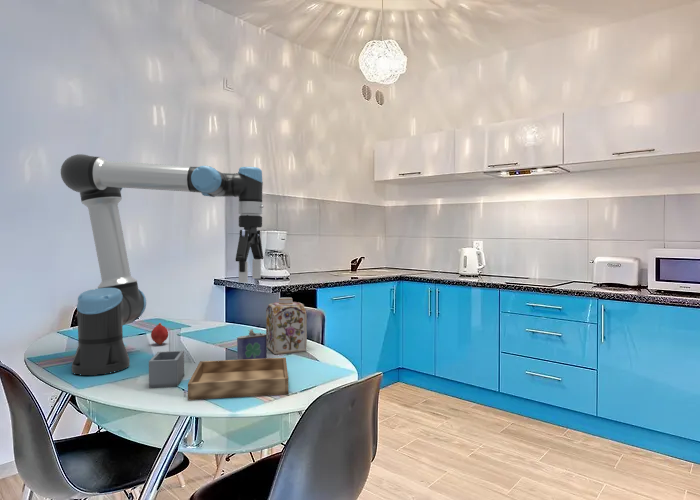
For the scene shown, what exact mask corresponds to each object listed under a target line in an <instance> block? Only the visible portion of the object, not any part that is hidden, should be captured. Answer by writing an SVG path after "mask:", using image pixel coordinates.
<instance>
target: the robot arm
mask: <svg viewBox="0 0 700 500" xmlns="http://www.w3.org/2000/svg"><path fill="white" fill-rule="evenodd" d="M60 177H61V180H62V182H63V183H64V185H65V186H66V187H68V189H70V190H71V191H74V192H77V193H79V196H80V201H81V204H82V205H84V206H85V207H87V208H88V209H87V211H88V214H89V219H90V220H89V221H90V224H91V225H90V226H91V230H92V235H93V241H94V245H95V252H96V257H97V263H98V266H99V273H100V278H101V282H100V284H98V286H97V288H95V289H88V290H85V291H82V292H81V293H80V294H79V295H78V297H77V303H76V310H77V338H78V339H77V341H78V343H77V348H76V351H75V354H74V358H73V359H72V363H71V373H72V372H73V373H75V374H81V375H94V376H98V375H97V374H104V375H106V374H105V373H110V372H114V371H118V370H121V371H123V370H122V369H124V368H126V369H128V368H129V367H130V366H131V365H130V364H131V363H130V356H129V354H128V351H127V348H126V346H125V344H124V339H123V336H124V335H123V326H125V325H128V324H131V323H133V322H135V321H137V320H138V319H140V318H141V316H142V315H143V314H144V313H145V310H146V307H147V298H146V296H145V294H144V292H143V291H142V290H140V288H139V285H138V280H137V279H136V278H134V277H133V276H131V275H132V274H131V269H130V268H131V267H130V264H129V259H128V253H127V248H126V243H125V237H124V232H123V227H122V226H123V225H122V221H121V215H120V212H119V211H120V209H119V203H120V202H121V201H122V189H123V188H124V189H138V190H155V191H173V192H190V193H191V192H192V193H198V194H201V195H202V196H203V197H210V198H211V197H212V198H215V197H220V198H221V197H222V198H223V197H225V198H226V197H229V198H230V197H231V198H233V197H235V198H236V197H238V214H239V216H238V227H239V228H243V229H240V230H239V238H238V244H237V248H236V249H237V250H236V255H235V262H238V283H244V284H246V283H248V282H249V279H248V277H249V275H248V273H249V269H248V268H249V262H248V261H247V260H248V257H249V254H250V249H251V253H252V257H253V259H252V264H251V265H252V267H251V268H252V272H251V273H252V279H257V280H258V279H260V280H261V279H262V276H261V275H262V260H264V253H263V246H262V245H263V244H262V239H261V230H259V229H257V228H262V227H263V217H262V214H263V208H264V207H265V206H264V205H263V185H264V182H263V171H262V169H261V168H259V167H255V166H241V167H239V168H238V172H237V173H227V172H226V173H225V172H221V171H219V170H217V169H216V168H214V167H213V166H208V165H200V166H191V165H173V164H158V163H147V162H146V163H143V162H131V161H130V162H127V161H112V160H107V159H106V158H105V157H103V156H93V155H88V154H83V153H82V154H80V153H79V154H73V155H71V156H69V157H68V158H66V159H65V160H64V162H63V163H62V164H61V167H60ZM128 366H129V367H128ZM127 367H128V368H127ZM124 370H125V369H124ZM118 372H119V371H118ZM73 373H72V374H73ZM114 373H115V372H114ZM75 374H74V375H75ZM110 374H111V373H110ZM81 375H80V376H81Z"/></svg>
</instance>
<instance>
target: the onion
mask: <svg viewBox="0 0 700 500" xmlns="http://www.w3.org/2000/svg"><path fill="white" fill-rule="evenodd" d="M150 338H151V340H152V341H153V342H154V343H155V344H157V345H159V346H160V345H162V344H163V343H164V342H166V340H168V338H169V331H168V329H167V327H166V326H164V325H163V324H162V322H158V324H157V325H155V327H154V328H153V329H152V330H151V333H150Z"/></svg>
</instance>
